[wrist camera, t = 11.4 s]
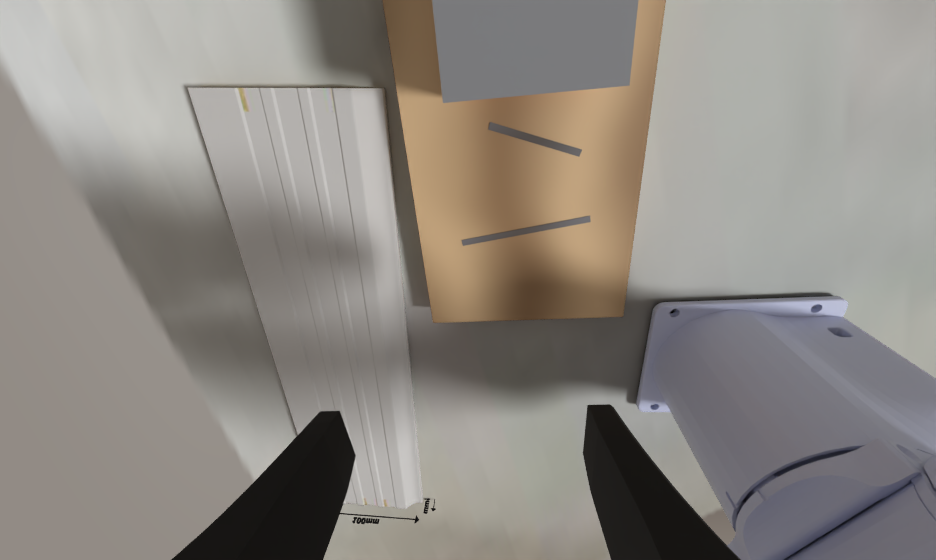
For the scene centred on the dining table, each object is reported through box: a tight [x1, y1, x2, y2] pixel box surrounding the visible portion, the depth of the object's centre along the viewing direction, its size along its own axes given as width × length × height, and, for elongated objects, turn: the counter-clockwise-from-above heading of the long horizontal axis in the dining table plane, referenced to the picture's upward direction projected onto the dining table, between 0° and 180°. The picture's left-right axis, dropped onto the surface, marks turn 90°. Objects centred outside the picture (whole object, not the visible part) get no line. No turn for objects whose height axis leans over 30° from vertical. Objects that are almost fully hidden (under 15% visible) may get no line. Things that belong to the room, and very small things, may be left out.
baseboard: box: [188, 88, 435, 524], centre depth 23 cm, size 30×3×10 cm
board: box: [383, 0, 666, 323], centre depth 15 cm, size 10×22×2 cm, turn 5°
